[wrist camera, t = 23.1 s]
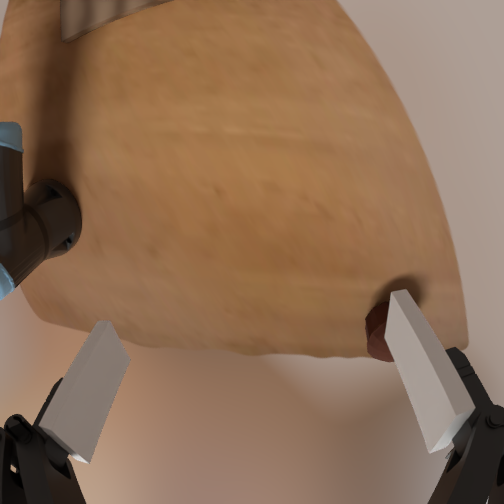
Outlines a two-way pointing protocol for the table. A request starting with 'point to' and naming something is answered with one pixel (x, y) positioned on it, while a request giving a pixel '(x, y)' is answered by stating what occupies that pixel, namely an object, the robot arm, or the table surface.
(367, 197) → the table surface
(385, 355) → the muffin
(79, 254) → the table surface
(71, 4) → the walnut board
